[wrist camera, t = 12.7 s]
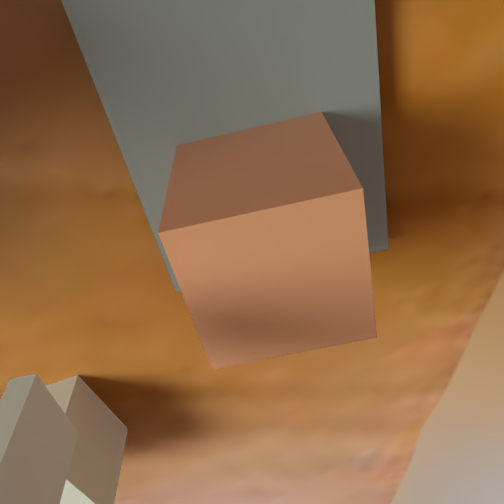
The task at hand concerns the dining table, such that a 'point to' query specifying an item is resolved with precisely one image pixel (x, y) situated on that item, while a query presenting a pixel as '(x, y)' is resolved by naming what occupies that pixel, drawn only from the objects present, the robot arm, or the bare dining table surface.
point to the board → (233, 81)
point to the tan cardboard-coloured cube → (269, 241)
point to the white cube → (90, 444)
